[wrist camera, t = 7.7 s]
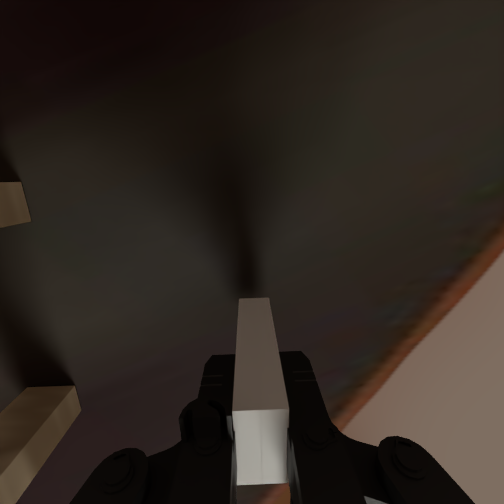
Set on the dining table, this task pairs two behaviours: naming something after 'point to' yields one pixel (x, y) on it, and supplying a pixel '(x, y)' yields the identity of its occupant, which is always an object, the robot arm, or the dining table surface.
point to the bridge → (29, 398)
